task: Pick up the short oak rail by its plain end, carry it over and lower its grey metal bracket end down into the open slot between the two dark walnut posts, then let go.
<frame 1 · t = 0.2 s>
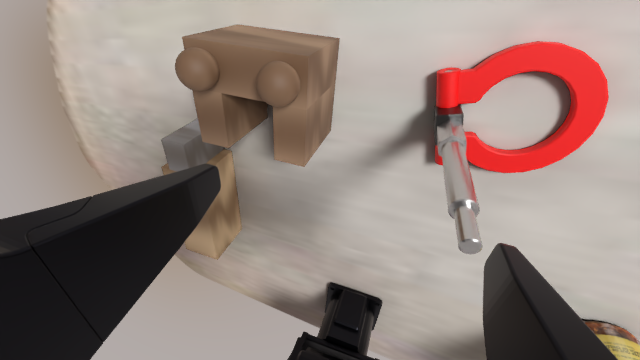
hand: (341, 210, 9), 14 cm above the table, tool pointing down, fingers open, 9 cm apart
sauce bottle: (594, 335, 27), on the table
bed rail: (221, 189, 33), on the table
tow hook: (509, 110, 19), on the table
headboard post: (286, 86, 23), on the table
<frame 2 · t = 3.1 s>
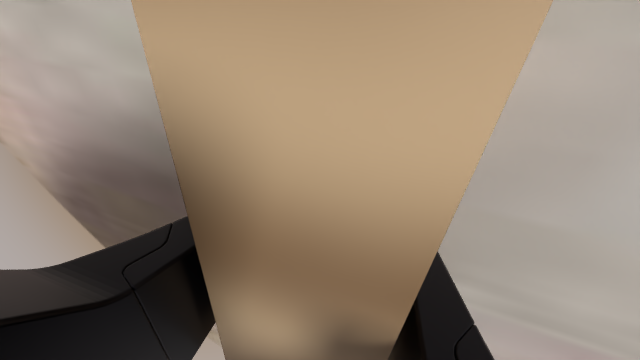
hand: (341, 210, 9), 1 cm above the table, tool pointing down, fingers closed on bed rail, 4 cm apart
bed rail: (355, 154, 9), on the table, touching gripper
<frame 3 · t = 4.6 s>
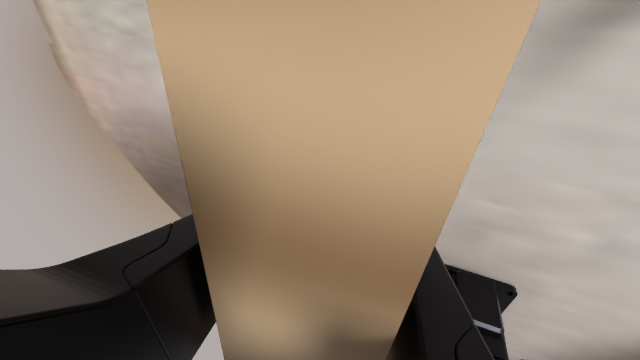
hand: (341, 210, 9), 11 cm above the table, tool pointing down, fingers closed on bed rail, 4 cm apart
bed rail: (355, 152, 9), point 10 cm above the table, touching gripper
when the fingers open (2 cm above the table, at t = 6.5 s): bed rail drops 1 cm, on the table.
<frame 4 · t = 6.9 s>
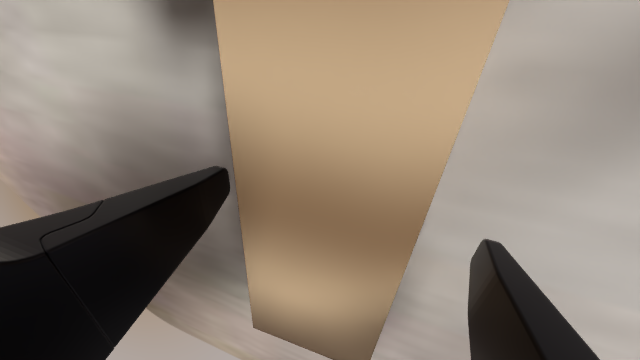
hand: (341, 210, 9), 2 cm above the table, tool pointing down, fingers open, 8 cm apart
bed rail: (363, 138, 10), on the table
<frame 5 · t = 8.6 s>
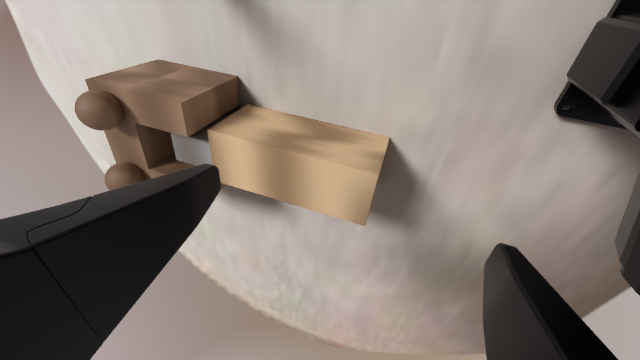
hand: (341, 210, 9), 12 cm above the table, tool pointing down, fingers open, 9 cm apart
bed rail: (312, 143, 22), on the table
headboard post: (209, 118, 24), on the table
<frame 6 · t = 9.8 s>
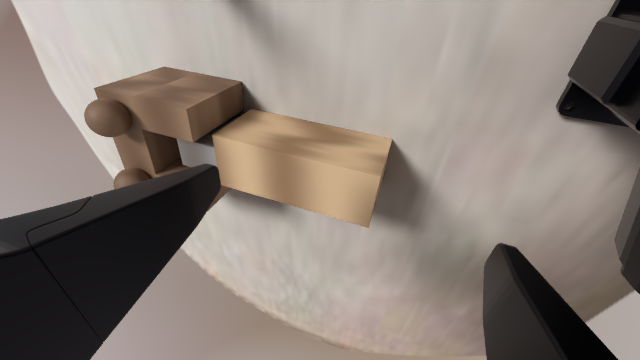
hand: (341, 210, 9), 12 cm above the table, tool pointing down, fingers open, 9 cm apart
bed rail: (316, 146, 23), on the table
headboard post: (214, 123, 25), on the table
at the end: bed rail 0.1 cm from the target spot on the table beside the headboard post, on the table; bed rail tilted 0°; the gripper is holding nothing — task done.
